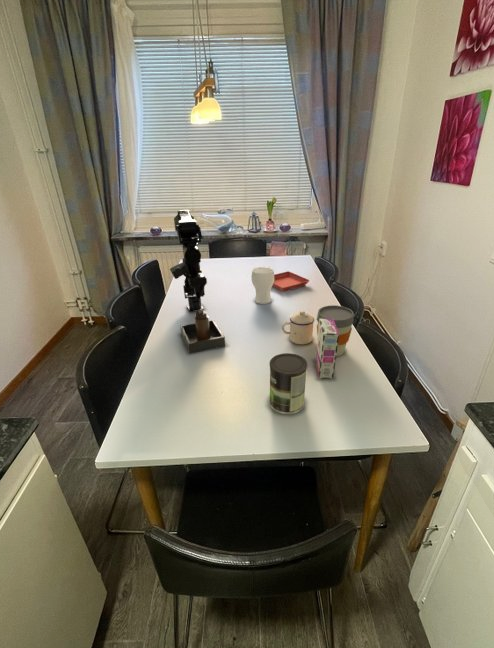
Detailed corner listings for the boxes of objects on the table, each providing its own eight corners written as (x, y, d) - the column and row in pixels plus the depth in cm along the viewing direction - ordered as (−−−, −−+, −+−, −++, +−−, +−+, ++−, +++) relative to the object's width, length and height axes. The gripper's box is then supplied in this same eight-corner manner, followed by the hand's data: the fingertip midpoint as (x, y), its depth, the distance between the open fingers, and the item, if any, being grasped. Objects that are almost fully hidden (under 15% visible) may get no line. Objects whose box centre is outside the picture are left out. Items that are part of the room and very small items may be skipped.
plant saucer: (309, 286, 182) (310, 279, 181) (282, 293, 174) (282, 287, 172) (288, 276, 195) (288, 270, 194) (261, 283, 187) (261, 277, 185)
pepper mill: (200, 338, 136) (196, 306, 128) (212, 339, 134) (209, 307, 127) (195, 344, 131) (191, 311, 124) (208, 345, 130) (204, 312, 123)
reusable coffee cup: (307, 345, 130) (310, 308, 122) (336, 338, 134) (340, 302, 126) (326, 362, 120) (330, 323, 113) (356, 354, 125) (362, 316, 117)
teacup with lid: (311, 333, 138) (313, 306, 132) (314, 344, 131) (316, 316, 125) (280, 333, 138) (281, 306, 132) (282, 345, 131) (283, 317, 125)
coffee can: (271, 416, 98) (271, 374, 90) (267, 393, 106) (267, 354, 99) (307, 413, 98) (311, 372, 91) (300, 391, 107) (303, 351, 100)
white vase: (272, 305, 162) (272, 274, 154) (249, 304, 163) (249, 273, 156) (275, 297, 170) (276, 267, 163) (254, 295, 172) (253, 265, 164)
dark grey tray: (181, 334, 139) (180, 325, 137) (214, 328, 143) (213, 319, 141) (189, 353, 127) (188, 344, 125) (225, 346, 131) (224, 336, 129)
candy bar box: (334, 379, 112) (339, 334, 103) (318, 379, 112) (322, 334, 103) (329, 360, 121) (334, 317, 113) (314, 360, 122) (318, 317, 113)
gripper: (166, 252, 137) (171, 289, 145) (174, 265, 122) (180, 306, 130) (194, 249, 141) (198, 286, 149) (205, 261, 126) (209, 302, 134)
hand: (195, 294), depth 140 cm, fingers open, 9 cm apart
